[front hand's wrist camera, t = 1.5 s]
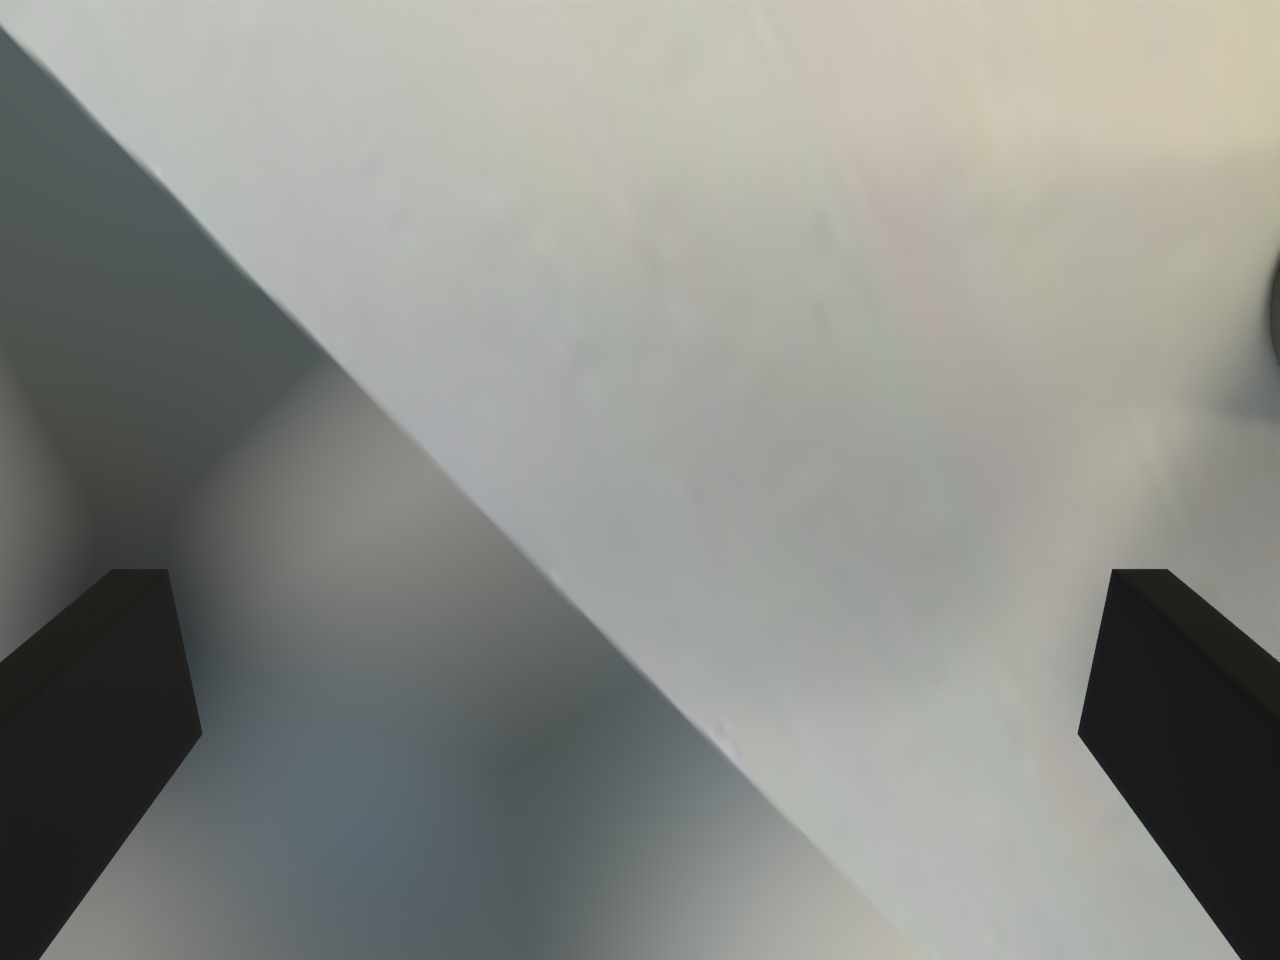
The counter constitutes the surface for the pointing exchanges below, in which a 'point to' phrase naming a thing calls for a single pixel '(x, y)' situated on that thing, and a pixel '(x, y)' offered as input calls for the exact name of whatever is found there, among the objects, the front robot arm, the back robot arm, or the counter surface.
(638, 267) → the counter surface
